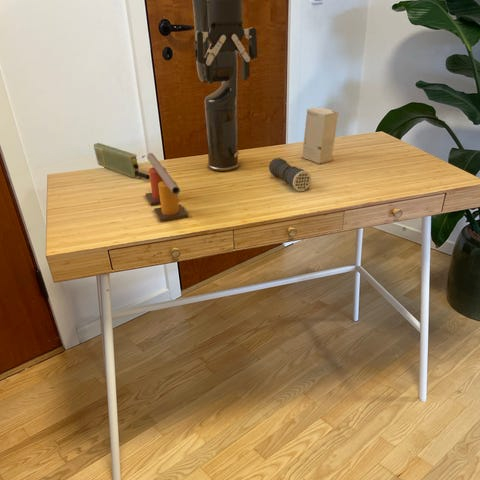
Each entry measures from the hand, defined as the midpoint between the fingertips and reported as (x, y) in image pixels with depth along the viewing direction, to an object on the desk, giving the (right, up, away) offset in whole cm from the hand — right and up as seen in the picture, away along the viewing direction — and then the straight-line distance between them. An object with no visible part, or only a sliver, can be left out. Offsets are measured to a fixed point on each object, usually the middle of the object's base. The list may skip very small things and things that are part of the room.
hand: (227, 81), depth 108 cm
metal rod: (-17, -20, +8) cm, 27 cm away
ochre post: (-15, -29, +9) cm, 34 cm away
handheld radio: (-33, -10, +35) cm, 49 cm away
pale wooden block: (+28, -4, +40) cm, 49 cm away
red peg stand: (-18, -23, +17) cm, 34 cm away
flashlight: (+17, -17, +24) cm, 34 cm away
